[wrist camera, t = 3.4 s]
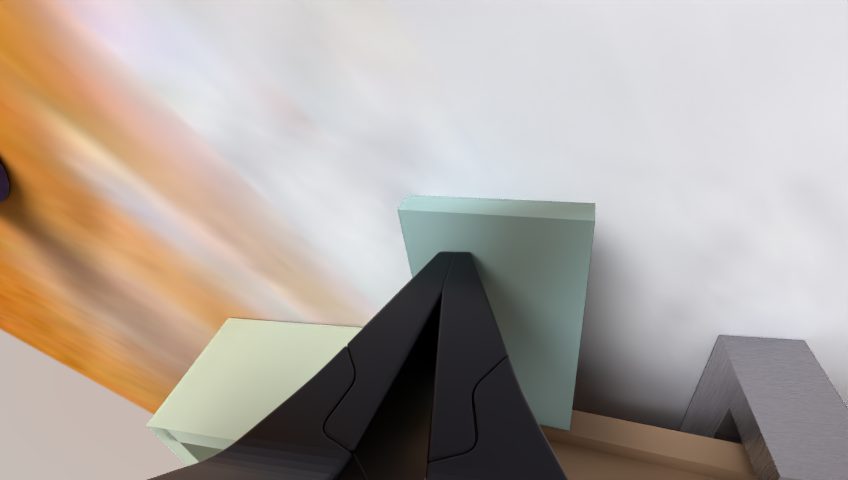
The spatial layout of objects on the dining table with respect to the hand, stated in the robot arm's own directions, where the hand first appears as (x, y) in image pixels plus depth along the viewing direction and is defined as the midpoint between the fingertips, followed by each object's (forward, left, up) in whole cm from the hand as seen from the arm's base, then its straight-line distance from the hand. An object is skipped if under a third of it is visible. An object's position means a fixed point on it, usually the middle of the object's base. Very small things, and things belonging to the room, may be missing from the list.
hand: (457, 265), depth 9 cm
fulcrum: (-8, +9, -2) cm, 12 cm away
